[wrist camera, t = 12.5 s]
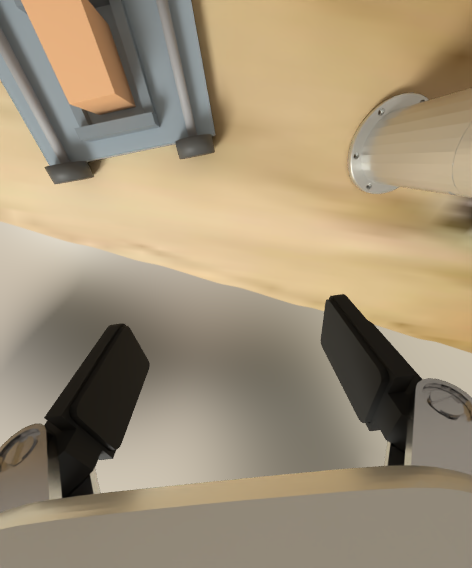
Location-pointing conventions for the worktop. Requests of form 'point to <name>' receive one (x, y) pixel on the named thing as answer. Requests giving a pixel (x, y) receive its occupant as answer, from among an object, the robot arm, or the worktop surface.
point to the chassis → (141, 78)
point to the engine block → (81, 54)
